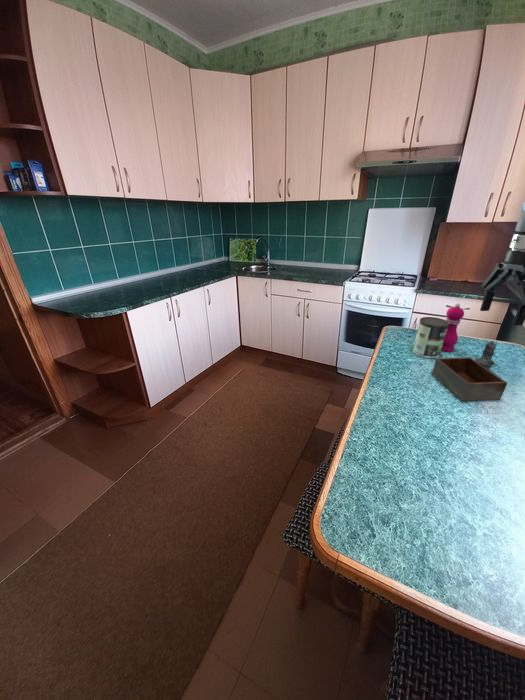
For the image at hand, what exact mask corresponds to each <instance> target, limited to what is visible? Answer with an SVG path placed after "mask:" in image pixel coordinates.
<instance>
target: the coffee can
mask: <svg viewBox="0 0 525 700" xmlns="http://www.w3.org/2000/svg"><path fill="white" fill-rule="evenodd" d="M448 326H449V322H448V321H446V319H443V318H441V317H434V316H424V317H420V319H419V322H418V327H417V331H416V336H415V338H414V339H415V340H414V344H413V348H412V352H413V354H415V355H417V356H418V357H422V358H426V359H438V358H439V357H440V356H441V352H442V350H441V349H442V345H443V342H444V339H445V335H446V332H447V328H448Z"/></svg>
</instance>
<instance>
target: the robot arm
mask: <svg viewBox="0 0 525 700" xmlns="http://www.w3.org/2000/svg"><path fill="white" fill-rule="evenodd" d="M509 248H510V249H508V250H507V252H506V254H505V256H504V262H496V263H495V266H494V269H493V270H492V271H491V272H490V274H489V275H488V276H487V278H486V279H485V280H484V282H482V284H481V285H480V288H481V289H483V290H484V293H483V296H482V303H481V306H480V308H479V311H480V312H489V311H490V309H491V306H492V303H493V301H494V297H495V294H496V289H498V288H499V287H500V286H501V285H503V284H504V283H506V282H508V281H509V282H512V283H514V284H515V285H516V286H517V288H518V292H519V295H520V298H521V302H522V303H521V304H519V306H518V308H517V311H516V313H515V315H514V318H513V321H512V324H511V326H513V327H514V326H515V327H516V326H523V325H524V323H525V201H524V202H523V205H522V207H521V209H520V213H519V217H518V220H517V223H516V226H515V230H514V231H513V234H512V238H511V241H510V243H509Z"/></svg>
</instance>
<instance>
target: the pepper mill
mask: <svg viewBox="0 0 525 700" xmlns="http://www.w3.org/2000/svg"><path fill="white" fill-rule="evenodd" d="M445 315H446V319H445V320H446V321H448V322H449V326H448V328H447V332H446V335H445V339H444V342H443V345H442V349H441V352H447V353H451V352H453V351H454V349H455V345H457V343H458V341H459V340H458V338H459V336H458V333H457V329H458V326H459V324H460V323H461V321H462V320H461V319H463V318H464V316H465V311H464V309H463V308H462V307H461V304H460V303H455V304H454V306H451V307H449V308H448V309H447V310H446V314H445Z"/></svg>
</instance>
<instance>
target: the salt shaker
mask: <svg viewBox="0 0 525 700" xmlns="http://www.w3.org/2000/svg"><path fill="white" fill-rule="evenodd" d="M496 347H497V344H496V343H494V340H491V341H490V342H487V343H486V344H485V346H484V349H482V354H481V356H480V357H476V358H475V359H474V360H475V361H477V362H478V363H480V364H481V365H482V366H484V367H485V368H487V369H488V370H490V369H492V367H493V366H495V364H496V363H495V361H493V359H492V358H493V356H494V355H495V350H496Z"/></svg>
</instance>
